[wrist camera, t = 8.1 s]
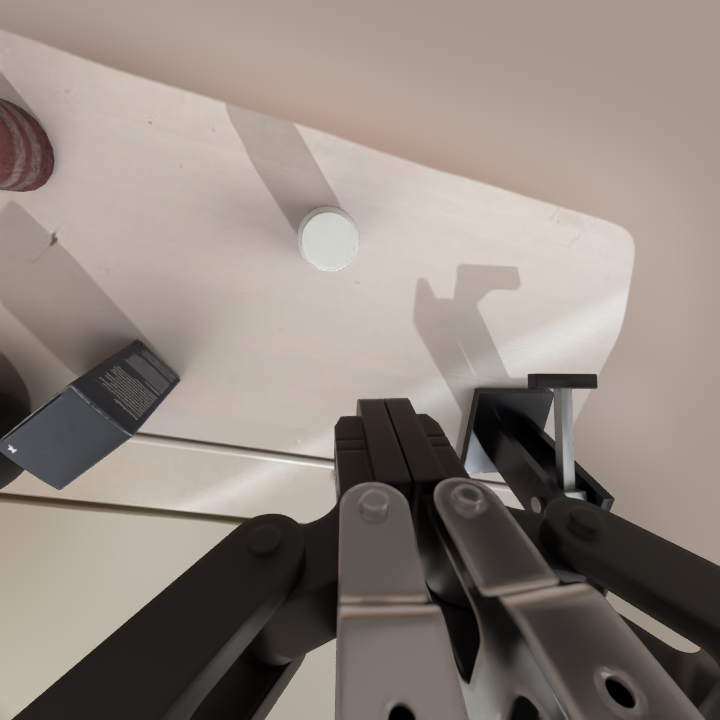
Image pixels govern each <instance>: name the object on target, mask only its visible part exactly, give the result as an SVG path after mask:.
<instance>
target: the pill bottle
mask: <svg viewBox="0 0 720 720" xmlns="http://www.w3.org/2000/svg"><path fill="white" fill-rule="evenodd" d="M297 239H298V246H299V249H300V252H301V254H302V256H303V257H304V259H305V260H306V261H307V262H308V263H309V264H310V265H311V266H313V267H314V268H316V269H319V270H322V271H327V272H329V271H337V270H340V269H342V268H344V267H346V266H347V265H348V264H350V263H351V261H352V260H353V259H354V257H355V256H356V254H357V251H358V248H359V242H360V237H359V232H358V228H357V225H356V223H355V221H354V220H353V219H352V217H351V216H350V215H349V214H348V213H347V212H345V211H344V210H342V209H340V208H337V207H334V206H322V207H318V208H315V209H313V210H312V211H310V212H309V213H308V214H307V215H306V216H305V217H304V218H303V220H302V221H301V224H300V226H299V229H298V235H297Z"/></svg>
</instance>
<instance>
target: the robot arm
mask: <svg viewBox="0 0 720 720" xmlns="http://www.w3.org/2000/svg"><path fill="white" fill-rule="evenodd" d="M334 472H335V487H336V502H337V504H336V505H335V507H334V508H333V509H332V510H331V511H330V512H329V513H328V514H327V515H325V516H324V517H322V518H320V519H318V520H316V521H313V522H311V523H308V524H305V525H302V526H300V525H299V524H298V523H297V522H296V521H295V520H293V519H292V518H290V517H288V516H285V515H281V514H265V515H260V516H256V517H254V518H251V519H249V520H247V521H246V522H244V523H242V524H241V525H240V526H238V527H237V528H236V529H235V530H233V531H232V532H231V533H230V534H229V535H228V536H226V537H225V538H224V539H223V540H222V541H221V542H219V544H217V545H216V546H215V547H214V548H213V549H211V550H210V551H209V552H208V553H207V554H205V555H204V556H203V557H202V558H201V559H199V560H198V561H197V562H196V563H195V564H194V565H192V566H191V567H190V568H189V569H188V570H187V571H185V572H184V573H183V574H182V575H181V576H180V577H178V578H177V579H176V580H175V581H174V582H172V583H171V584H170V585H169V586H168V587H167V588H165V590H163V591H162V592H161V593H160V594H158V595H157V596H156V597H155V598H154V599H153V600H151V601H150V602H149V603H148V604H147V605H145V606H144V607H143V608H142V609H141V610H140V611H139V612H138V613H136V614H135V615H134V616H133V617H131V618H130V619H129V620H128V621H127V622H126V623H124V624H123V625H122V626H121V627H120V628H119V629H117V630H116V631H115V632H114V633H113V634H111V635H110V636H109V637H108V638H107V639H106V640H104V641H103V642H102V643H101V644H100V645H99V646H97V647H96V648H95V649H94V650H93V651H92V652H90V653H89V654H88V655H87V656H86V657H84V658H83V659H82V660H81V661H80V662H79V663H77V664H76V665H75V666H74V667H73V668H72V669H70V670H69V671H68V672H67V673H66V674H65V675H63V676H62V677H61V678H60V679H59V680H58V681H56V682H55V683H54V684H53V685H52V686H51V687H49V688H48V689H47V690H46V691H45V692H43V693H42V694H41V695H40V696H39V697H38V698H36V699H35V700H34V701H33V702H32V703H30V704H29V705H28V706H27V707H26V708H25V709H23V710H22V711H21V712H20V713H19V714H18V715H17V716H15V717H14V718H13V719H12V720H264V719H265V718H266V717H267V715H268V714H269V712H270V711H271V709H272V707H273V706H274V704H275V703H276V701H277V700H278V698H279V697H280V695H281V694H282V692H283V691H284V689H285V688H286V686H287V685H288V683H289V682H290V680H291V679H292V677H293V676H294V674H295V673H296V671H297V670H298V668H299V667H300V665H301V663H302V661H303V660H304V658H305V655H306V653H308V652H310V651H312V650H314V649H315V648H317V647H319V646H321V645H323V644H325V643H327V642H329V641H331V640H333V639H335V638H337V644H336V648H337V649H336V688H335V689H336V692H335V720H720V566H718V565H716V564H714V563H712V562H710V561H708V560H706V559H704V558H702V557H700V556H698V555H696V554H694V553H692V552H690V551H688V550H686V549H684V548H682V547H680V546H678V545H676V544H674V543H671V542H669V541H667V540H665V539H663V538H661V537H659V536H657V535H655V534H653V533H651V532H649V531H647V530H645V529H643V528H641V527H639V526H637V525H635V524H633V523H631V522H629V521H627V520H625V519H623V518H621V517H619V516H617V515H615V514H613V513H610V512H609V511H607V510H604V509H602V508H600V507H598V506H596V505H594V504H592V503H590V502H587V501H584V500H581V499H577V498H572V497H558V498H555V499H553V500H551V501H550V502H549V503H548V504H547V506H546V509H545V512H544V514H542V513H536V512H531V511H526V510H521V509H516V508H511V507H508V506H505V505H504V504H503V503H502V501H501V500H500V499H499V497H498V496H497V495H496V494H495V493H494V492H493V491H492V490H491V489H490V488H488V487H487V486H485V485H484V484H482V483H480V482H477V481H475V480H471V478H470V476H469V475H468V473H467V471H466V470H465V468H464V466H463V464H462V463H461V461H460V459H459V458H458V456H457V454H456V452H455V451H454V449H453V447H452V446H451V445H450V442H449V440H448V439H447V437H445V434H444V432H443V430H442V428H441V427H440V425H439V423H438V422H436V421H435V420H434V419H432V418H431V417H430V416H428V415H427V414H416V413H415V411H414V409H413V407H412V405H411V403H410V401H409V399H408V398H390V399H358V400H357V414H356V416H343V417H340V419H339V421H338V422H337V424H336V425H335V446H334ZM608 591H610V592H612V593H614V594H615V595H617V596H618V597H620V598H621V599H623V600H625V601H626V602H628V603H630V604H631V605H633V606H634V607H636V608H638V609H639V610H641V611H643V612H644V613H646V614H647V615H649V616H651V617H652V618H654V619H655V620H657V621H659V622H660V623H662V624H664V625H665V626H667V627H668V628H670V629H672V630H673V631H675V632H676V633H678V634H680V635H681V636H683V637H685V638H686V639H688V640H690V641H691V642H693V643H694V644H696V645H697V646H699V647H701V649H700V650H699V651H698V652H695V653H685V652H682V651H679V650H676V649H674V648H672V647H670V646H669V645H667V644H666V643H664V642H663V641H661V640H659V639H658V638H656V637H655V636H653V635H652V634H650V633H649V632H647V631H646V630H644V629H642V628H641V627H639V626H638V625H636V624H635V623H633V622H632V621H630V620H628V619H627V618H625V617H624V616H622V615H621V614H619V613H618V612H616V611H615V609H614V608H613V607H612V606H611V604H610V603H609V602H608V601H607V600H606V599H605V598H606V595H607V593H608Z"/></svg>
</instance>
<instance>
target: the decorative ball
mask: <svg viewBox="0 0 720 720" xmlns="http://www.w3.org/2000/svg"><path fill="white" fill-rule="evenodd" d="M30 414H31V412H30V411H29V409H28V408H27V407H26V406H25V405H23V404H22V403H21V402H20V401H18V400H16V399H15V398H13V397H11V396H9V395H7V394H5V393H2V392H0V439H1V438H2V437H4V436H5V435H6V434H7V433H9V432H10V431H11V430H12V429H14V428H15V427H16V426H17V425H18V424H20V423H21V422H22V421H23V420H24V419H25V418H26V417H28V416H29V415H30ZM24 470H25V469H24V468H22V467H21V466H19V465H18V464H16V463H15V462H14V461H12V460H11V459H9V458H8V457H7V456H6V455H4V454H3V453H2V452H0V489H2V488H3V487H5V486H6V485H8V484H9V483H11V482H12V481H13V480H15V479H16V478H17V477H18V476H19V475H20V474H21V473H22V472H23V471H24Z"/></svg>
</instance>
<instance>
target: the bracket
mask: <svg viewBox="0 0 720 720" xmlns="http://www.w3.org/2000/svg"><path fill="white" fill-rule="evenodd" d="M553 397H554V393H553V392H552V391H551V390H549V389H475V392H474V397H473V402H472V407H471V412H470V417H469V422H468V427H467V432H466V437H465V442H464V447H463V452H462V457H461V463H462V464H463V466H464V468H465V470H466V471H467V473H487V472H499V473H500V475H501V476H502V477H503V479H504V480H505V482H506V483H507V485H508V486H509V487H510V489H511V490H512V492H513V493H514V495H515V496H516V497H517V499H518V500H519V502H520V503H521V505H522V506H523V507H524V509H525V510H526V511H531V512H536V513H542V514H544V512H545V509H546V506H547V504H548V503H549V502H550V501H551V500H553V499H555V498H558V497H567V496H566V495H565V494H564V493H563V491H562V490H561V489H560V488H559V487H558V486H557V481H556V450H555V441H554V440H553V439H552V438H551V437H550V436H549V435H548V434H547V433H546V432H545V431H544V427H545V424H546V420H547V417H548V414H549V410H550V407H551V403H552V400H553ZM574 469H575V487H576V488H578V489H581V490H583V491H585V492H587V502H590V503H592V504H594V505H596V506H598V507H600V508H602V509H604V510H607V511H610V509H611V507H612V504H613V502H614V500H615V499H614V498H613V497H612V496H611V495H610V494H609V493H608V492H607V491H606V490H605V489H604V488H603V487H602V486H601V485H600V484H599V483H598V482H597V481H596V480H595V479H594V478H593V477H591V476H590V475H589V474H588V473H587V472H586V471H585V470H584V469H583V468H582V467H581V466H580V465H579V464H578V463H577V462H576V461H575V460H574Z"/></svg>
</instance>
